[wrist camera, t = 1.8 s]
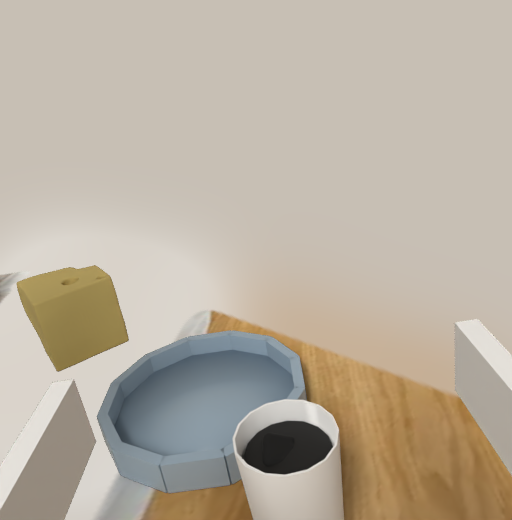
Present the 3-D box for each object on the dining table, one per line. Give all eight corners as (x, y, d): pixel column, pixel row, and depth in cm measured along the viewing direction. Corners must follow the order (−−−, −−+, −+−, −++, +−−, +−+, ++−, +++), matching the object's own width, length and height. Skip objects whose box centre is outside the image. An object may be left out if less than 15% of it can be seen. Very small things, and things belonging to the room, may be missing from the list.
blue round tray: (65, 454, 46) (55, 429, 45) (187, 343, 61) (182, 322, 60) (243, 522, 36) (236, 493, 35) (335, 369, 52) (332, 345, 50)
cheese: (108, 317, 73) (89, 256, 69) (133, 342, 64) (114, 275, 60) (37, 345, 68) (13, 281, 64) (54, 377, 59) (28, 305, 55)
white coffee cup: (254, 598, 31) (226, 481, 27) (258, 508, 37) (236, 403, 33) (359, 592, 30) (345, 472, 26) (345, 502, 36) (333, 394, 32)
